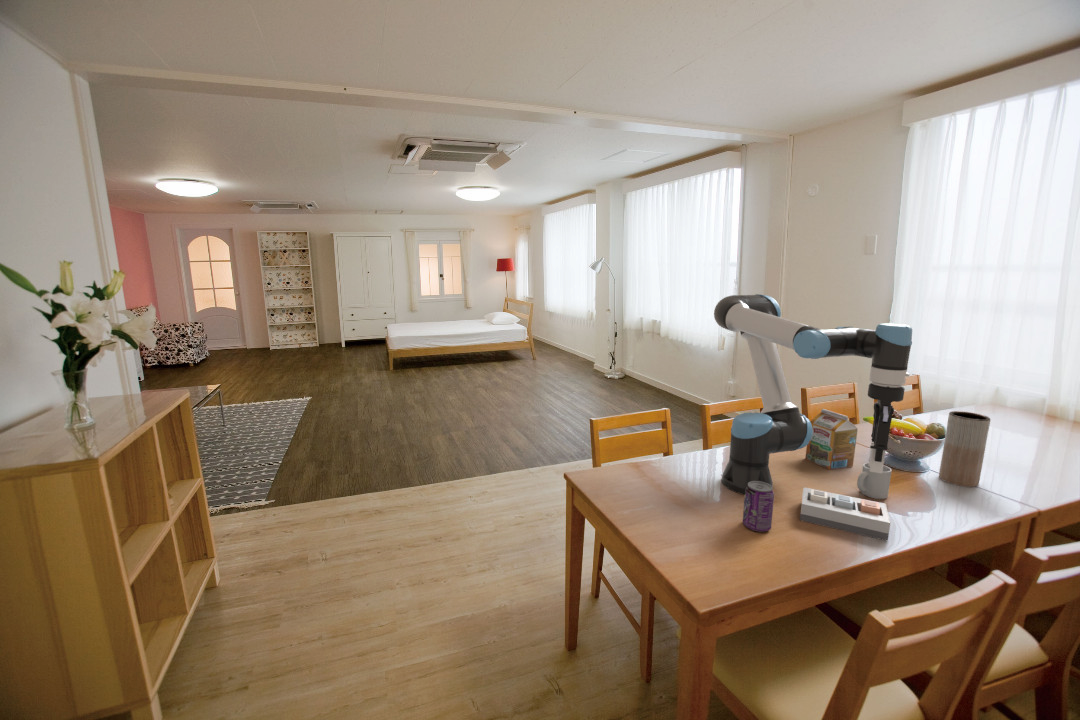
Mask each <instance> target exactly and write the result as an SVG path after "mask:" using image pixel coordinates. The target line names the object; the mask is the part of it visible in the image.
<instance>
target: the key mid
mask: <svg viewBox="0 0 1080 720" xmlns="http://www.w3.org/2000/svg"><path fill="white" fill-rule="evenodd" d="M835 494H836V495H835V504H834V505H835V506H837V507H842V508H847V509H853V498H852V497H853V496H850V497H847V496H848V495H845V496H842V495H843V494H840V495H837V494H838V493H835Z"/></svg>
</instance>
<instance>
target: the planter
mask: <svg viewBox="0 0 1080 720" xmlns="http://www.w3.org/2000/svg"><path fill="white" fill-rule="evenodd" d="M990 424H991V418H990V417H989V416H988V415H985V414H981V413H976V412H971V411H963V410H962V411H961V410H953V411H949V413H948V419H947V423H946V429H945V430H946V431H945V434H944V435H945V436H944V443H943V449H942V453H941V454H942V455H941V461H940V466H939V473H938V477H939V478H940V479H941V480H942V481H944V482H946V483H949V484H952V485H955V486H959V487H966V488H976V487H978V486H979V485H980V480H981V475H982V469H983V463H984V457H985V453H986V446H987V441H988V436H989V430H990Z"/></svg>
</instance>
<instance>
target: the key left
mask: <svg viewBox="0 0 1080 720" xmlns="http://www.w3.org/2000/svg"><path fill="white" fill-rule="evenodd" d="M810 489H811V497H810V501H814V502H819V503H823V504H827V492H828V491H825V492H823V491H824V490H820V491H818V490H819V489H815V490H813V489H814V488H810Z"/></svg>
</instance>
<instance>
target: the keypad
mask: <svg viewBox="0 0 1080 720" xmlns="http://www.w3.org/2000/svg"><path fill="white" fill-rule="evenodd" d="M811 489H813V490H816V488H815V489H814V488H809V487H803V489H802V496H801V497H802V499H801V507H800V516H799V521H802V522H806V523H810V524H815V525H818V526H823V527H828V528H831V529H832V528H833V529H837V530H840V531H844V532H849V533H851V534H852V533H854V534H857V535H861V536H862V535H863V536H865V537H869V538H873V539H878V538H879V539H878V540H882V539H883V541H887V542H888V540H889V534H890V528H891V527H890V526H891V519H890V517H889V516H890V515H889V511H888V509H887V504H886V503H883V502H880V501H879V502H878V501H875V500H874V501H873V500H870V499H864V498H859V497H854V496H851V495H849V496H848V495H844V494H841V493H840V494H839V493H834V492H828V491H825V490H822V491H823V492H827V504H823V503H819V502H814V501H810V497H811ZM817 490H818V491H821V490H820V489H817ZM836 494H837V495H842V496H847V497H852V498H853V509H847V508H842V507H837V506H835V505H834V504H835V495H836ZM861 499H862V500H867V501H872V502H877V503H879V506H880V514H879V515H875V514H870V513H866V512H861V511H860V504H861Z"/></svg>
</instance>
